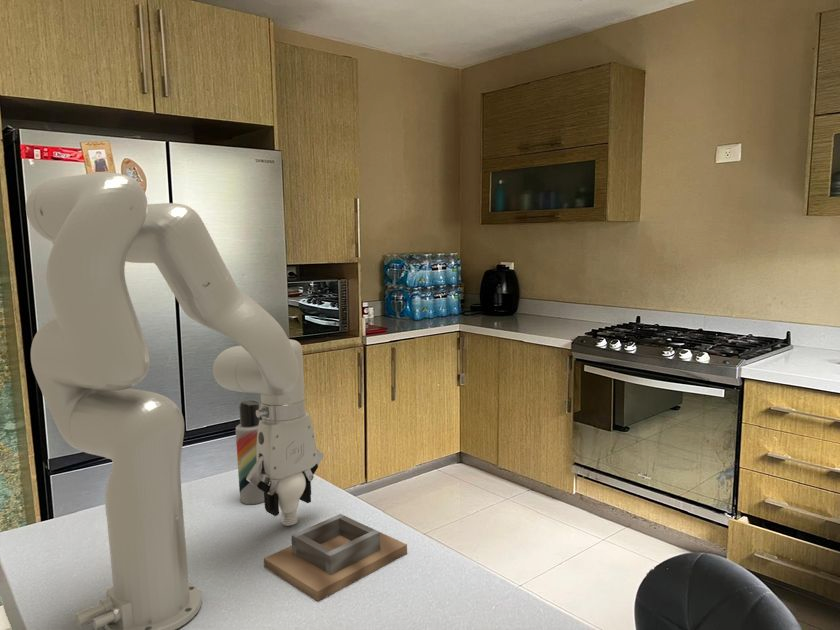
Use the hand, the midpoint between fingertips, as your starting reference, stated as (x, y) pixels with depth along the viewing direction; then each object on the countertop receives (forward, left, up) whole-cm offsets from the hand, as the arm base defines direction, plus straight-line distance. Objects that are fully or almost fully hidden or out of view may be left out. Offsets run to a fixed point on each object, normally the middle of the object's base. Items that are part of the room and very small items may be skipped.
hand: (288, 506), depth 112 cm
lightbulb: (0, 0, -4) cm, 4 cm away
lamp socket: (-2, -16, -4) cm, 17 cm away
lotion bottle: (+2, +15, -4) cm, 16 cm away
